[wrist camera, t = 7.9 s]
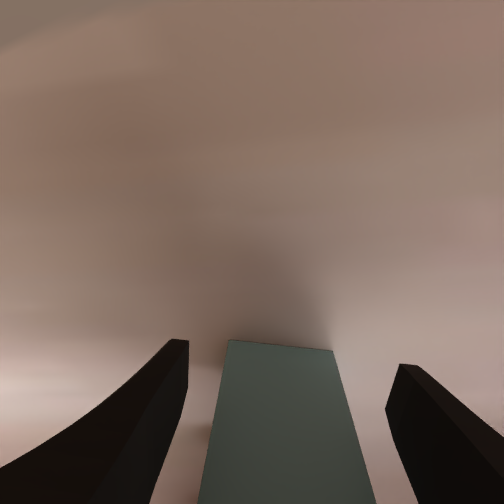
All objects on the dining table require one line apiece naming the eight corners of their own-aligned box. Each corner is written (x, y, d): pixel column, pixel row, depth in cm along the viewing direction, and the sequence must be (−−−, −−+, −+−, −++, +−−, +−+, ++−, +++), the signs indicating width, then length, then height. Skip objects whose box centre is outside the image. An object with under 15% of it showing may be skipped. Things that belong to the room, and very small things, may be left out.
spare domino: (333, 351, 15) (432, 698, 6) (325, 383, 16) (404, 739, 7) (229, 339, 15) (165, 665, 6) (226, 372, 16) (166, 709, 7)
